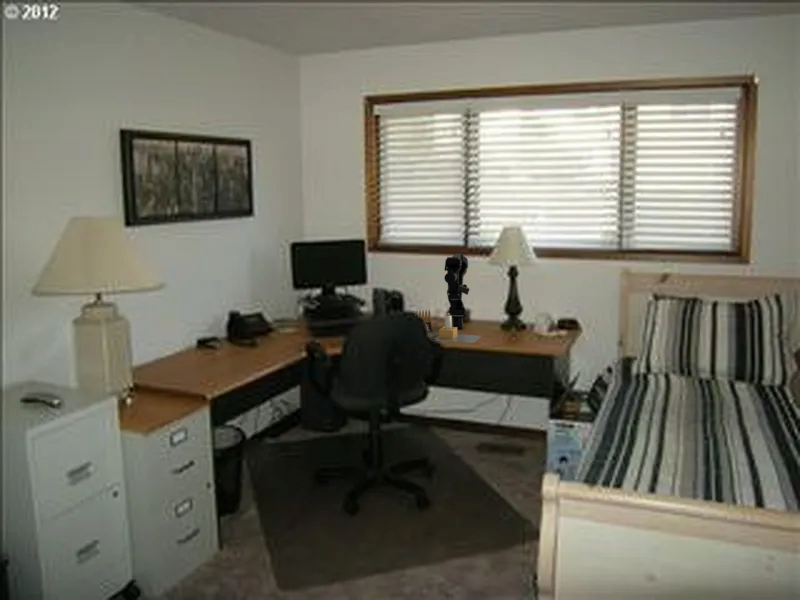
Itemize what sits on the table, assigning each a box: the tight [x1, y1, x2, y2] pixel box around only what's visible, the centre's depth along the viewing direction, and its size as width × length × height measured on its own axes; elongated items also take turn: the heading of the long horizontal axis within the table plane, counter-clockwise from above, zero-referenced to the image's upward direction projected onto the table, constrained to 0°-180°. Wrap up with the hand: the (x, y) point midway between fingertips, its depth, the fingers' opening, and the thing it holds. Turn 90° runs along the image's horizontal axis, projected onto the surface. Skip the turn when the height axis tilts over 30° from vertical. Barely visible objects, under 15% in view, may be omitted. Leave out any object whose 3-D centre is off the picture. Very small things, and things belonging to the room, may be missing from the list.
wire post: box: [444, 312, 453, 330], centre depth 362 cm, size 4×4×12 cm
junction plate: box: [433, 326, 482, 344], centre depth 360 cm, size 16×22×6 cm
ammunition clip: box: [412, 309, 433, 332], centre depth 380 cm, size 11×2×12 cm, turn 107°
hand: (453, 309), depth 372 cm, fingers open, 9 cm apart
